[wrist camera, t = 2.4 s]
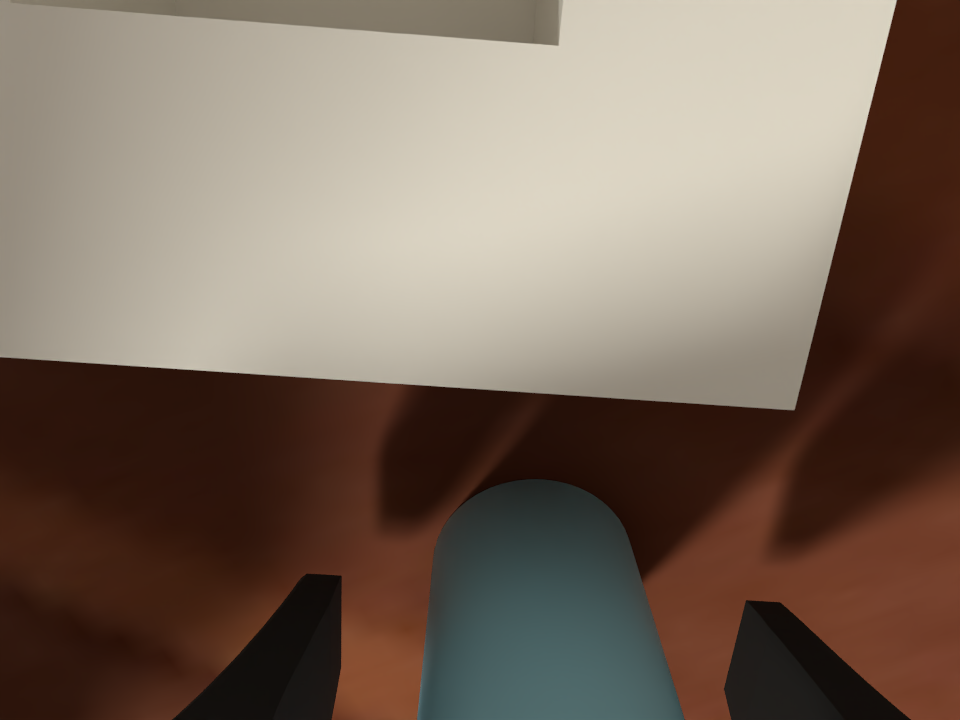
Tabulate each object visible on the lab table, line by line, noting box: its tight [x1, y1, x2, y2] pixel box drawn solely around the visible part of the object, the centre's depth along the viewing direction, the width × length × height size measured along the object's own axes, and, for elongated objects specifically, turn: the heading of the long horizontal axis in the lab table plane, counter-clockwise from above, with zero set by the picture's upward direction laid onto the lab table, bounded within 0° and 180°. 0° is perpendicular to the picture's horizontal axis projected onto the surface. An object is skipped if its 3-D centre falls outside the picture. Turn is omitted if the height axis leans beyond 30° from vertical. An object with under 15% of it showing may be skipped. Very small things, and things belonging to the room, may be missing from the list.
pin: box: [417, 479, 685, 720], centre depth 12 cm, size 4×4×7 cm
